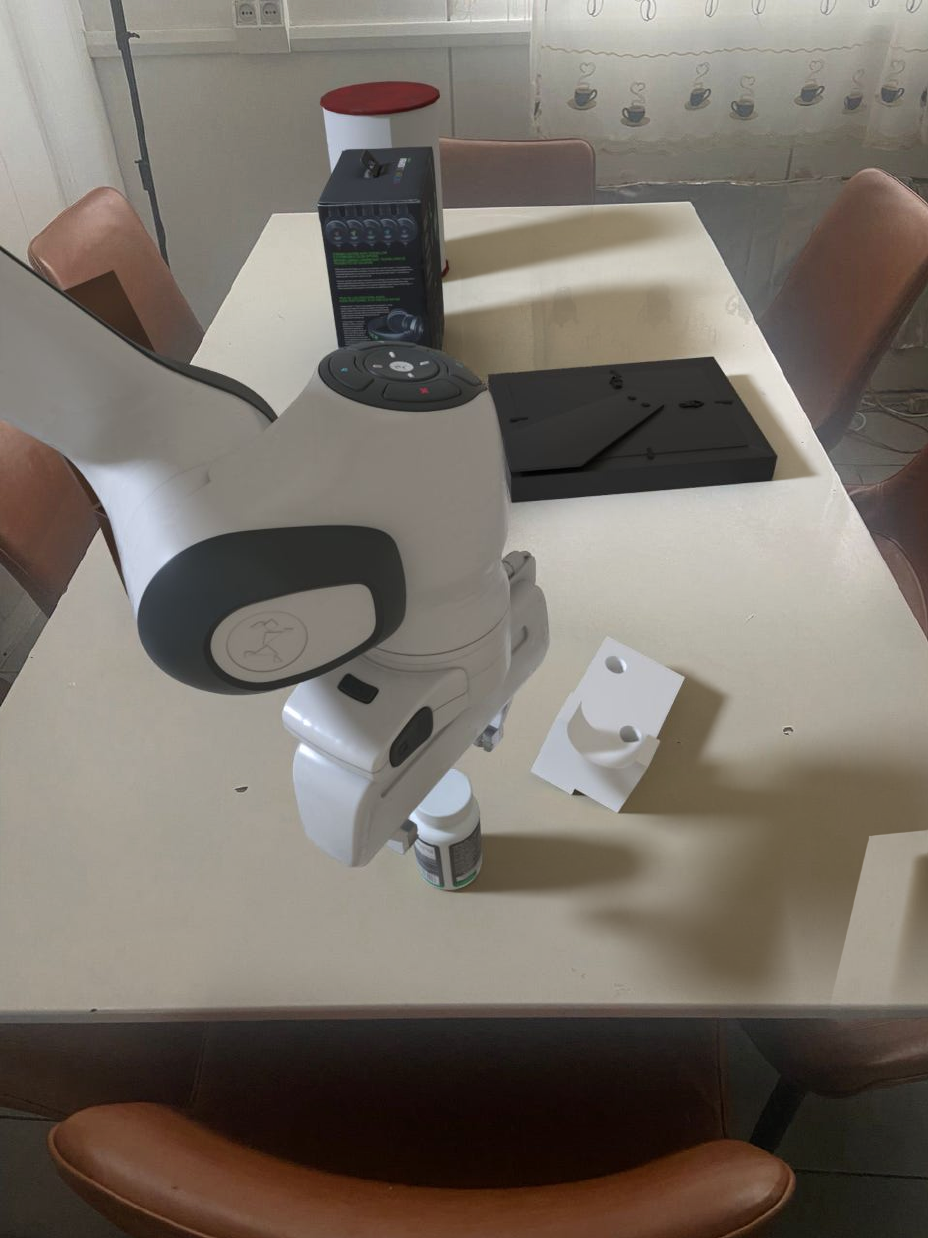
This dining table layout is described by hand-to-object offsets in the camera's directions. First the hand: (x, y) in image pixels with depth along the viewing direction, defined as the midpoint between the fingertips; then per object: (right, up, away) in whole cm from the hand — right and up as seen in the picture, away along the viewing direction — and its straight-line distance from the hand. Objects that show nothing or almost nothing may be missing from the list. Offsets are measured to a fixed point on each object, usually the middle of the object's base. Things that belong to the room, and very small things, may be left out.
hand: (446, 789), depth 58 cm
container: (-10, +67, +87) cm, 110 cm away
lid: (-30, +31, +20) cm, 48 cm away
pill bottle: (0, -6, +6) cm, 9 cm away
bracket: (+13, +1, +13) cm, 19 cm away
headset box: (-8, +46, +63) cm, 78 cm away
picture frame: (+19, +32, +47) cm, 60 cm away
